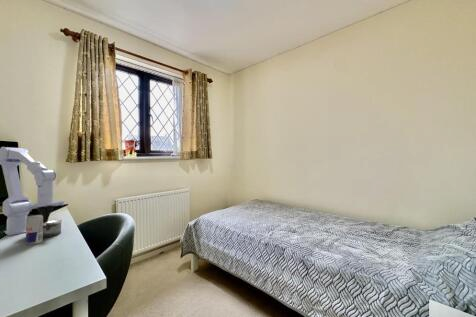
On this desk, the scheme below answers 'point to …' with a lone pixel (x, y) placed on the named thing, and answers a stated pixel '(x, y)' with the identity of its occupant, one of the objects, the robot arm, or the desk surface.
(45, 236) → the grey metal cylinder
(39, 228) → the energy drink
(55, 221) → the small frying pan
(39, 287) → the desk surface
